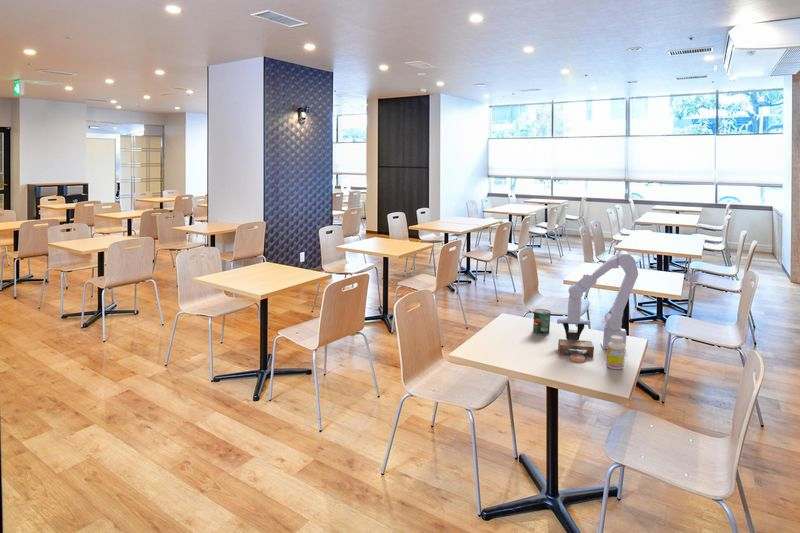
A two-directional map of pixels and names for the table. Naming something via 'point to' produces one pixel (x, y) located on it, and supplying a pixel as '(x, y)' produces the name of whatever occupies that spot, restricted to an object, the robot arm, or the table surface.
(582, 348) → the bench
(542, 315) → the canned tomato
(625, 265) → the robot arm
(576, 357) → the coaster
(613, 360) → the supplement bottle
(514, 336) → the table surface
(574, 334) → the grey square prism
